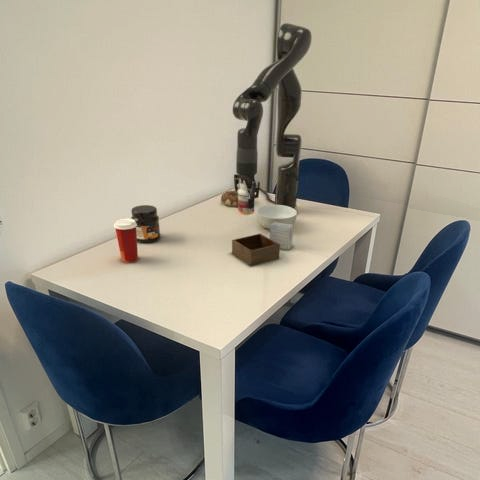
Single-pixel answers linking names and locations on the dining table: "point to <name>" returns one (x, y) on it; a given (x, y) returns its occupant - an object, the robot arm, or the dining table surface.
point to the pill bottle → (243, 201)
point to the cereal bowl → (275, 215)
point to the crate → (255, 249)
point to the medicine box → (282, 234)
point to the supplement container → (146, 223)
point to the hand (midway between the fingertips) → (246, 205)
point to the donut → (230, 198)
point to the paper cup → (127, 239)
